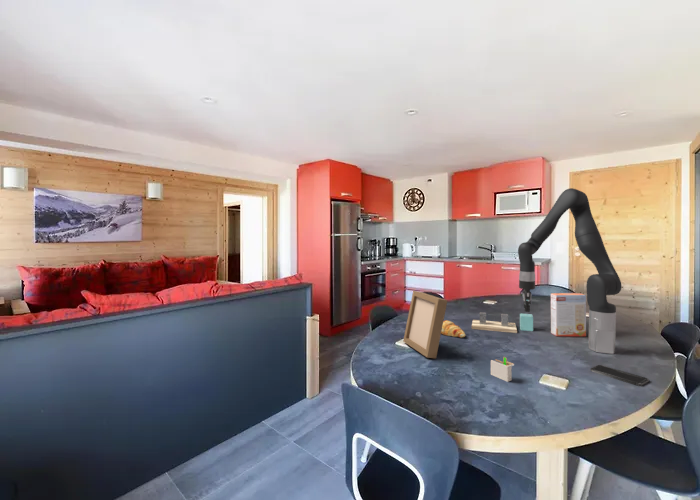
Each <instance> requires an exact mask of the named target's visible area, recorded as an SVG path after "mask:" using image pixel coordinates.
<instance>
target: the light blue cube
mask: <svg viewBox="0 0 700 500" xmlns="http://www.w3.org/2000/svg"><path fill="white" fill-rule="evenodd" d="M519 329H520V331H525V332H526V331H527V332H533V331H534V316H533V314H532V313H531V314H529V313H519Z"/></svg>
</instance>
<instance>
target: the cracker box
mask: <svg viewBox="0 0 700 500" xmlns="http://www.w3.org/2000/svg"><path fill="white" fill-rule="evenodd" d="M550 334H552V335H553V336H555V337H586V336H587V294H584V293H582V292H563V293H562V292H557V293H555V292H554V293H553V292H552V293H550Z"/></svg>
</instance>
